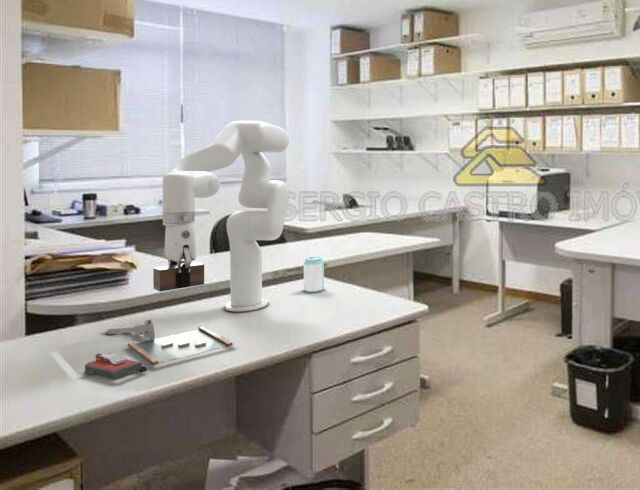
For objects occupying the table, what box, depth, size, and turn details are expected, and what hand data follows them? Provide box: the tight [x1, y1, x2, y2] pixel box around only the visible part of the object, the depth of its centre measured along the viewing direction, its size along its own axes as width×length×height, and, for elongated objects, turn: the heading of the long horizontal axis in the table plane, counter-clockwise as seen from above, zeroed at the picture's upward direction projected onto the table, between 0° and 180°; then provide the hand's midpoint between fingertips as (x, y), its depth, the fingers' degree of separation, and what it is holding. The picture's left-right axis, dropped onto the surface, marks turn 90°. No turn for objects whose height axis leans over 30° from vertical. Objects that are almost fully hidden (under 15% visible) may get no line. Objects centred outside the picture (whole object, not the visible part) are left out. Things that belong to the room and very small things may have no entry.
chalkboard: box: [127, 326, 233, 366], centre depth 149 cm, size 20×18×2 cm
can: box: [303, 256, 325, 293], centre depth 209 cm, size 7×7×12 cm
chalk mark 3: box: [195, 342, 206, 347], centre depth 148 cm, size 1×2×1 cm, turn 137°
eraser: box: [152, 261, 205, 292], centre depth 154 cm, size 5×11×6 cm, turn 138°
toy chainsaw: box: [84, 352, 148, 380], centre depth 134 cm, size 9×4×20 cm
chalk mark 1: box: [161, 342, 173, 347], centre depth 148 cm, size 1×2×1 cm, turn 138°
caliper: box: [105, 319, 156, 340], centre depth 157 cm, size 20×1×6 cm, turn 64°
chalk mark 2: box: [178, 342, 190, 347], centre depth 148 cm, size 1×2×1 cm, turn 138°
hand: (179, 285), depth 154 cm, fingers closed on eraser, 5 cm apart
